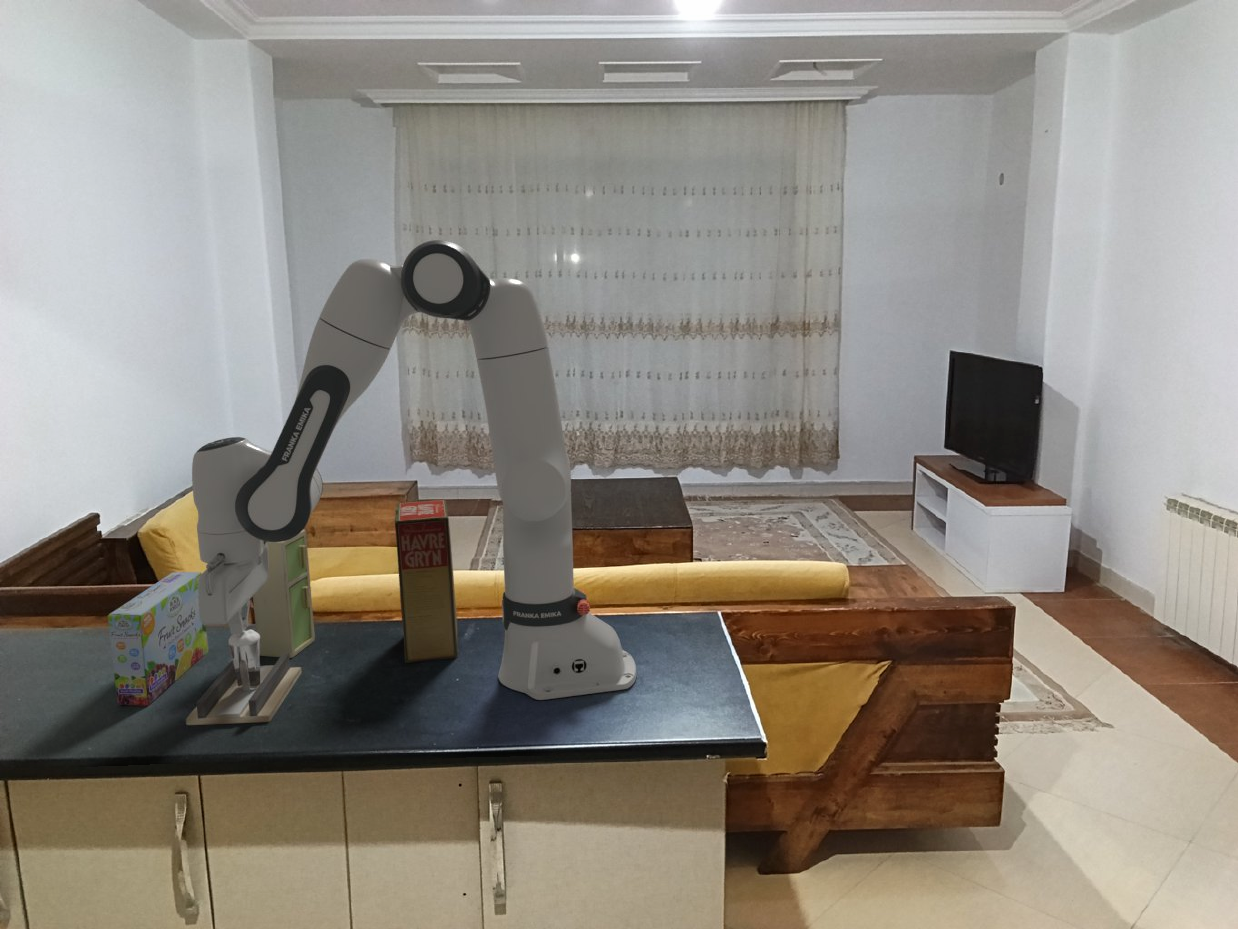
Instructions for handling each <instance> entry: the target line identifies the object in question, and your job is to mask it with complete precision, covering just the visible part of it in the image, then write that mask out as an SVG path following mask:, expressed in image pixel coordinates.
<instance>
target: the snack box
mask: <svg viewBox="0 0 1238 929" xmlns="http://www.w3.org/2000/svg"><path fill="white" fill-rule="evenodd" d="M201 574H202V572H201V571H195V572H194V571H178V572H177V571H175V572H170V574H168V575H167V576H165V577H163V578H162V579H160V580H159V581H158V582H156V583H154V584H153V585H151V586H150V587H148V588H147V589H146V590H144V591H141V593H139V594H138V595H136V596H135V597H133V598H132V599H130V600H129V601H127V602H126V603H124V604H123V605H121V606H120V607H118V608H116V609H115V610H114V611H112V612H110V613H109V614H108V615H107V620H108V629H109V631H108V632H109V637H110V647H111V658H112V666H113V673H114V674H113V676H114V683H115V684H114V685H115V694H116V695H115V696H116V702H117V704H116V705H117V706H138V707H139V706H141V707H142V706H143V707H145V706H150V705H151V704H152V703H153V702H154V701H155V700H156V699H158V698H159V697H160V696H161V695H162V694H163V693H164V692H165V691H166V690H167V689H169V687H171V686H172V685H173V684H174V683H175V682H176V681H177V680H179V679H180V677H182V676H183V675H184V674H185V673H187V671H188V670H190V669H191V668H192V667H193V666H194V665H196V663H197V662H199V661H200V660H201V659H202V658H203V657H204V656H205V655H207V653H209V643H208V642H209V641H208V633H207V625H203V624H202V622H201V620H200V616H199V598H198V584H199V578H200V576H201Z"/></svg>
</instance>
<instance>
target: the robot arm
mask: <svg viewBox="0 0 1238 929" xmlns="http://www.w3.org/2000/svg"><path fill="white" fill-rule="evenodd" d="M540 312H541V311H540V309H539V307H538V303H537V301H536V298H535V296H534V294H533V291H532V289H531V288H530V286H529V285H528V284H526V283H525V282H523V281H522V280H519V279H515V278H510V277H502V278H501V277H499V278H489V277H488V276H487V275H486V274H485V273H484V271H483V270H482V269H481V267H480V266H479V265H478V264H477V263H476V261H475V260H474V259H473V257H472V255H471V254H470V253H469V252H468V251H467V250H466V249H464V247H461V245H458V244H457V243H455V242H452V241H451V242H450V241H447V240H442V239H440V240H439V239H435V240H428V241H425V242H423V243H421V244H419V245H417V246H416V247H415V248H413V249H412V250H411V251H410V252H409V253H408V255H407V256H406V258H405V260H404V261H403V263H402V264H401V265H391V264H390V263H389V264H388V263H385V261H384V262H383V261H381V260H378V259H371V258H370V259H369V258H365V259H358V260H356V261H354V262H352V263H351V264H349V265H348V267H347V268H346V269H345V271H344V272H343V274H342V275H341V276H340V277H339V279H338V281H337V282H336V283H335V285H334V287H333V289H332V291H331V293H330V294H329V296H328V298H327V300H326V302H325V304H324V306H323V308H322V310H321V312H320V315H319V317H318V319H317V321H316V323H315V326H314V328H313V329H314V330H313V332H312V335H311V337H310V342H309V345H308V348H307V350H306V351H307V352H306V357H305V359H304V360H305V361H304V365H303V370H302V373H301V377H300V381H299V386H298V390H297V393H296V397H295V400H294V402H293V405H292V407H291V410H290V412H289V415H288V417H287V419H286V420H285V423H284V426H283V428H282V429H281V432H280V434H279V436H278V438H277V440H276V443H275V445H274V448H273V450H272V451H270V450H268V449H266V448H264V447H260V446H258V445H256V444H254V443H253V442H251V441H250V440H249V439H248V438H245V437H242V436H241V437H240V436H235V437H226V438H221V439H217V440H214V441H212V442H208V443H206V444H204V445H203V446H201V447H200V448H199V449H197V450H196V452H195V453H194V454H193V457H192V463H191V484H192V496H193V503H194V505H195V507H196V510H197V514H198V516H197V522H196V523H197V524H196V532H197V533H196V534H197V542H198V543H197V544H198V550H199V560H200V561H201V562H203V563H204V564H206V565H205V566H206V567H205V569H206V570H204V571H203V572H201V576H200V578H199V584H198V598H199V616H200V620H201V622H202V624H203V625H206V626H223V625H227V624H230V628H229V632H230V634H231V635H232V634H233V635H240V634H242V633H243V631H246V629H247V628H248V627H249V625H250V624H249V613H250V605H251V599H252V598H253V595H254V594H255V593H256V592H257V591H258V590H259V589H260V588H261V587H262V586H263V585H264V584H265V583H266V582H267V578H268V573H269V560H268V546H267V542H282V541H286V540H289V539H291V538H293V537H295V536H297V535H298V534H299V533H300V532H301V531H302V530H305V527H306V526H307V524H308V522H309V520H310V516H311V514H312V513H313V512H314V510H315V509H316V506H317V504H318V503H319V501H320V499H321V497H322V494H323V489H324V484H323V483H324V482H323V479H322V475H321V474H320V472H319V470H318V468H317V467H318V465H319V463H320V461H321V459H322V456H323V454H324V452H325V450H326V448H327V445H328V443H329V441H330V438H331V437H332V435H333V432H334V430H335V429H336V426H337V425H338V423H339V422H340V420H341V419H342V417H343V416H344V415H345V413H346V412H347V411H348V410H349V408H350V407H352V405H353V404H354V403H356V401H357V400H358V399H359V398H360V397H361V396H362V394H364V393H365V391H366V390H367V389H368V387H369V386H370V385H371V383H373V382H374V380H375V378H376V377H377V375H378V373H379V372H380V370H381V369H382V367H383V366H384V364H385V362H386V361H387V358H388V356H389V354H390V351H391V349H392V347H393V345H394V343H395V340H396V338H397V335H398V333H399V331H400V329H401V327H402V326H403V324H404V322H405V321H406V320H407V319H408V318H410V316H412V315H414V314H419V313H422V314H425V315H427V316H431V317H434V318H439V319H453V320H458V321H463V322H464V323H465V324H466V326H467V327H468V329H469V332H470V334H471V338H472V343H473V347H474V354H475V358H476V362H477V364H476V365H477V368H478V373H479V379H480V384H481V385H480V386H481V389H482V395H483V399H484V404H485V410H486V416H487V425H488V426H487V427H488V432H489V433H488V434H489V439H490V446H491V447H490V448H491V453H492V459H493V467H494V471H495V472H494V473H495V479H496V484H497V486H496V487H497V490H498V494H499V497H500V500H501V502H502V508H503V509H502V514H503V515H502V518H503V519H502V521H503V522H502V525H503V526H502V532H503V533H502V553H503V554H502V555H503V556H502V557H503V558H502V559H503V574H504V576H503V577H504V592H503V593H502V594H503V595H502V600H501V612H502V615H501V616H502V624H503V628H504V640H503V641H504V644H503V650H502V659H501V663H500V668H499V671H498V674H497V675H498V677H497V678H498V680H499V682H500V683H501V684H502V685H503V686H505V687H507V688H509V689H510V690H512V691H513V690H514V691H517V692H520V693H524V694H526V695H527V696H529V697H531V698H532V699H535V700H536V701H537V700H538V701H544V700H551V699H559V698H567V697H573V696H574V697H575V696H583V695H589V694H598V693H605V692H612V691H613V692H614V691H621V690H627V689H629V688H630V687H632V686H633V685H634V683H635V681H636V678H637V666H636V663H635V662H636V661H635V659H634V658H633V656H632V655H631V654H630V653H629V652H628V651H626V650H624V649H623V647H622V645H621V644H622V643H621V640H620V638H619V636H618V634H617V632H616V630H615V629H614V628H613V626H611V625H609V624H608V623H606V622H605V621H603V620H602V619H600V618H598V617H597V616H595V615H594V614H592V613H591V612H590V610H591V604H590V602H589V601H588V598H587V594H585V591H584V589H583V588H580V590H579V589H577V588H575V587H574V586H575V585H574V581H575V580H574V553H573V552H574V550H573V549H574V545H573V516H572V515H573V513H572V477H571V475H572V473H571V460H570V457H569V455H568V454H569V453H568V452H567V448H566V443H565V436H564V431H563V425H562V419H561V418H562V417H561V412H560V406H559V399H558V392H557V388H556V382H555V377H554V371H553V366H552V360H551V355H550V349H549V348H550V347H549V343H548V338H547V334H546V330H545V326H544V322H543V319H542V316H541V315H542V314H541V313H540Z"/></svg>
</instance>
